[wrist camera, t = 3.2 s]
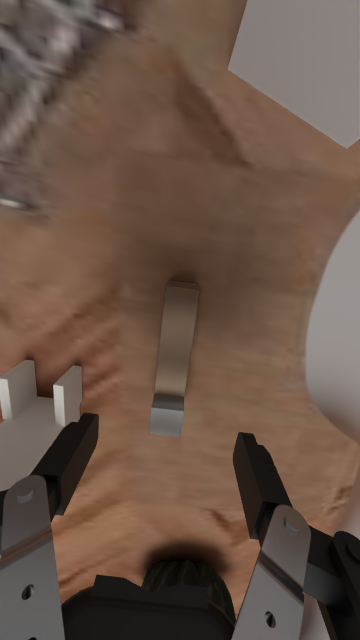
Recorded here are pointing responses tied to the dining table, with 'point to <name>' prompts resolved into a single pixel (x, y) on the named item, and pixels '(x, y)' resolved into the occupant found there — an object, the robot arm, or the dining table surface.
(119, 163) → the dining table surface
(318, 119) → the milk
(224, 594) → the squash
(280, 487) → the robot arm
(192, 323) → the rail
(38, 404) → the white forked bracket
